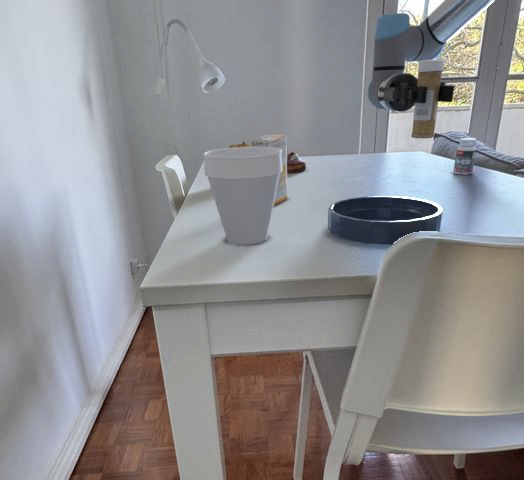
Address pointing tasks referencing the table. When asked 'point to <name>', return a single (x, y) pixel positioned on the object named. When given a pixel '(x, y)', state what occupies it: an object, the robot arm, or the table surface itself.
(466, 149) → the pill bottle
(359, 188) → the table surface
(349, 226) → the dark blue round dish
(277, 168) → the white flower pot
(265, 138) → the supplement box
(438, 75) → the sprinkles bottle
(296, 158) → the pastry
